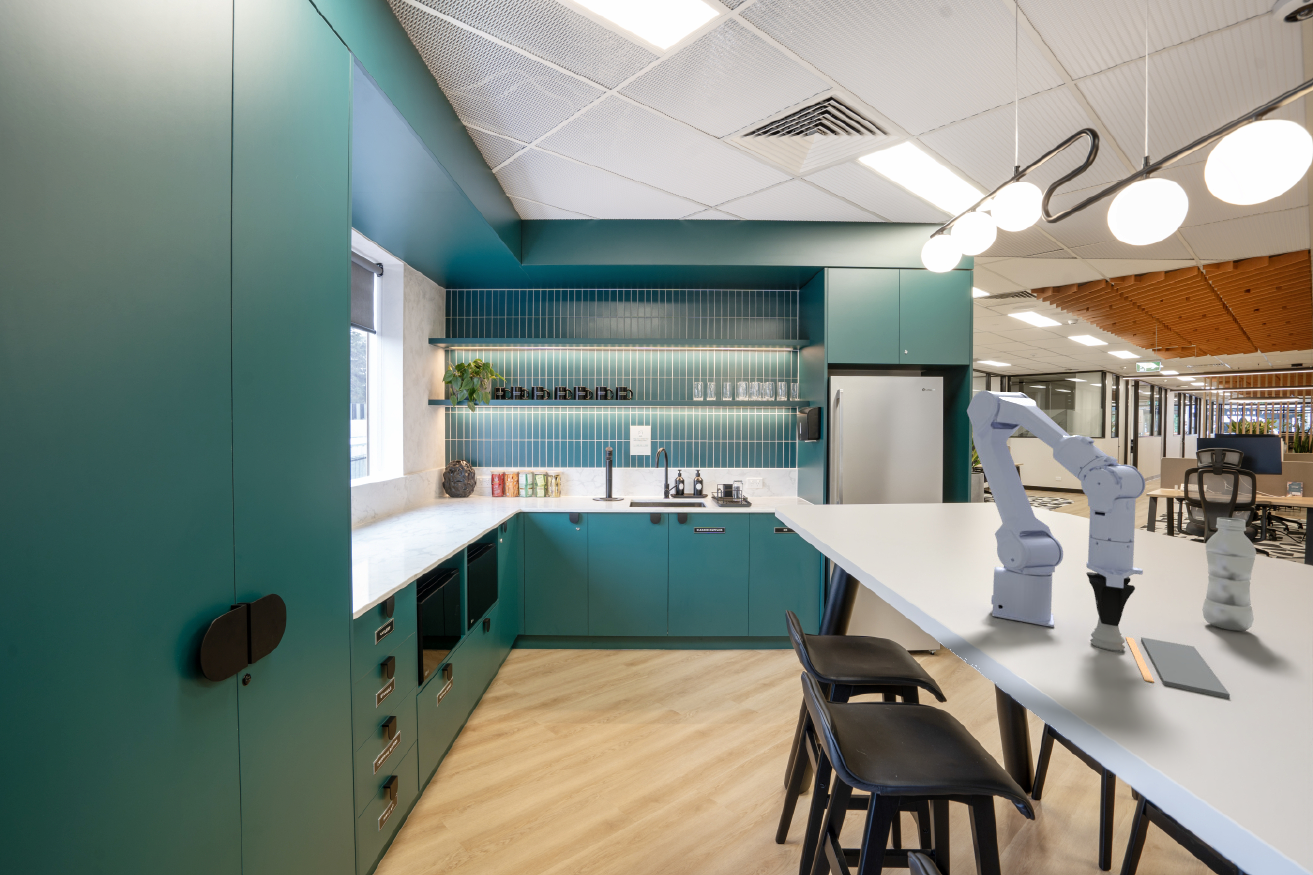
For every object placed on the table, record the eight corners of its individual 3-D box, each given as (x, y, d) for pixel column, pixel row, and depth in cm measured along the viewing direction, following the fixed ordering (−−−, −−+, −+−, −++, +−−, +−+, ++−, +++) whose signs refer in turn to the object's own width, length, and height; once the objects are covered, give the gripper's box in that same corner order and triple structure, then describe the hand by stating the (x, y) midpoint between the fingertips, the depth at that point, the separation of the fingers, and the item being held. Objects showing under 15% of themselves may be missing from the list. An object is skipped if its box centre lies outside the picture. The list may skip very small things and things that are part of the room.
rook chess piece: (1131, 653, 88) (1133, 603, 88) (1099, 650, 89) (1101, 601, 88) (1114, 642, 92) (1115, 595, 92) (1084, 640, 93) (1085, 593, 93)
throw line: (1144, 680, 78) (1144, 679, 78) (1125, 638, 94) (1125, 636, 94) (1154, 682, 77) (1154, 681, 77) (1133, 639, 94) (1133, 638, 94)
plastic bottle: (1237, 624, 102) (1241, 517, 102) (1263, 637, 96) (1267, 523, 95) (1193, 620, 104) (1197, 515, 104) (1216, 632, 98) (1220, 520, 98)
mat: (1163, 684, 77) (1163, 680, 77) (1140, 640, 93) (1141, 637, 93) (1229, 698, 73) (1229, 694, 73) (1193, 650, 89) (1193, 646, 89)
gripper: (1151, 550, 82) (1147, 640, 82) (1136, 535, 94) (1133, 614, 94) (1091, 543, 86) (1088, 629, 86) (1084, 530, 98) (1081, 605, 98)
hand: (1108, 621), depth 90 cm, fingers closed on rook chess piece, 3 cm apart
